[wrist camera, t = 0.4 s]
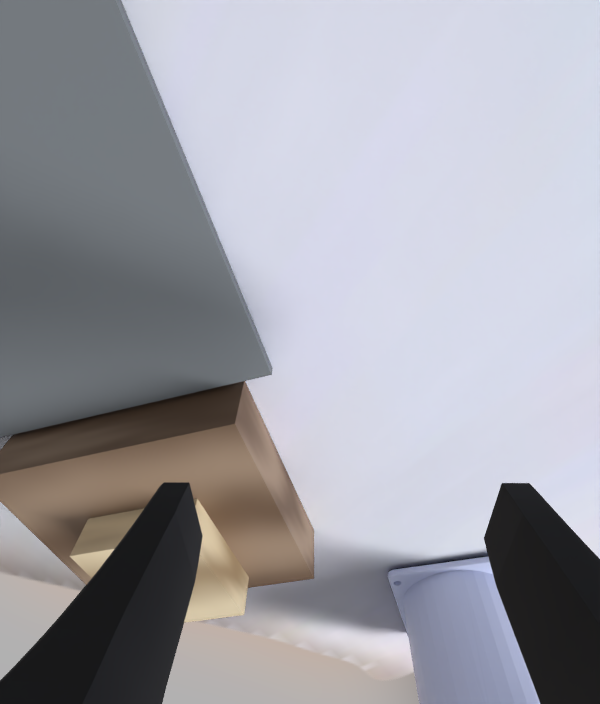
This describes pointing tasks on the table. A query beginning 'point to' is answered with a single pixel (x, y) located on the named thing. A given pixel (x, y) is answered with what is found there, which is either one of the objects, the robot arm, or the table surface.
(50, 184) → the charcoal mat
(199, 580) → the birch tile
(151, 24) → the table surface
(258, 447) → the block
